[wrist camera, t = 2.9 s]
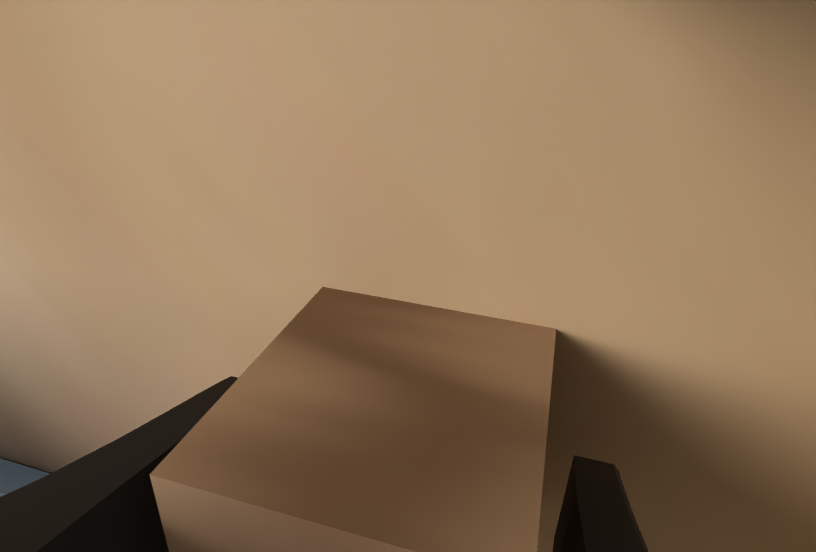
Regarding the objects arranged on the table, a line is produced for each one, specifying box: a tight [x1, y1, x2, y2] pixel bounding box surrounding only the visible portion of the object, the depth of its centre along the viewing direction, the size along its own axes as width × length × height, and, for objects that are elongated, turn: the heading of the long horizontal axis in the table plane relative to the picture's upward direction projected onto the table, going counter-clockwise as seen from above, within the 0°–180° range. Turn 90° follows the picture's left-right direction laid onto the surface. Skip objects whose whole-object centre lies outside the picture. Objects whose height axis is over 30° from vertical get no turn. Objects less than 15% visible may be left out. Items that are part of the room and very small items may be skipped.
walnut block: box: [150, 287, 556, 552], centre depth 9 cm, size 4×4×5 cm
